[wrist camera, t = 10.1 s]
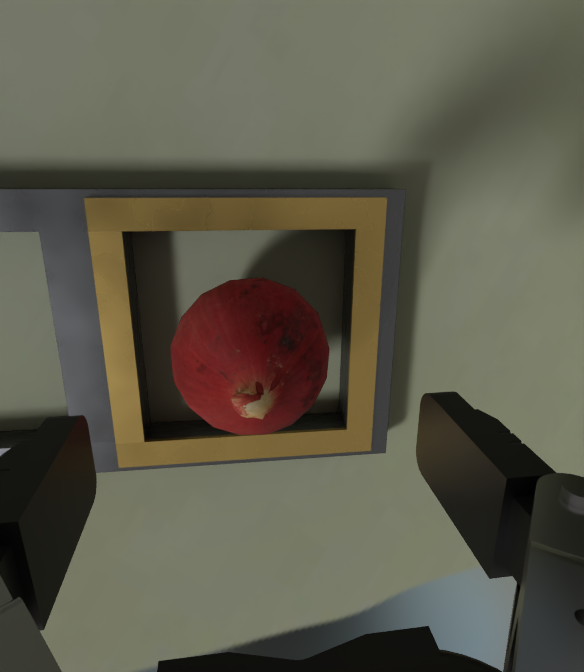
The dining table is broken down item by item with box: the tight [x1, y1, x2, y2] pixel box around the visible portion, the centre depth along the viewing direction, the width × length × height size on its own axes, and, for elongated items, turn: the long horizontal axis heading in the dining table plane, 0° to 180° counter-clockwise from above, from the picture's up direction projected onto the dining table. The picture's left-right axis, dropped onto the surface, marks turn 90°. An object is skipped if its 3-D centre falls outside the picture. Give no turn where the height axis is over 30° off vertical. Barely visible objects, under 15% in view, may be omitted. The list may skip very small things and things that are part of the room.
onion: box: [171, 278, 329, 435], centre depth 18 cm, size 6×6×8 cm
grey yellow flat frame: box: [0, 188, 406, 473], centre depth 20 cm, size 12×25×2 cm, turn 90°
